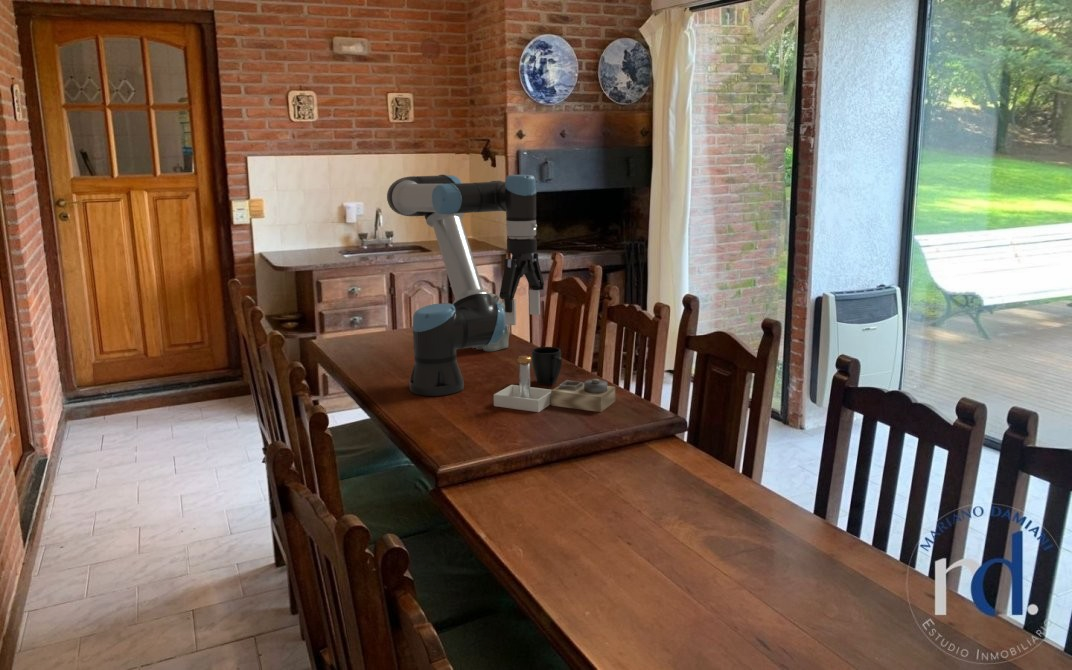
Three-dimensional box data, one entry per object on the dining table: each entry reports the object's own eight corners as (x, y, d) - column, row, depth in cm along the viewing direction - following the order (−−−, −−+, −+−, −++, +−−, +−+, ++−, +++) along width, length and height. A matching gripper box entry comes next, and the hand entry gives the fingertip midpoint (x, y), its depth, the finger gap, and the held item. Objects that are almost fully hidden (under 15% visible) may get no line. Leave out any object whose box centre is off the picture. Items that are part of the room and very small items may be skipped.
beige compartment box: (551, 405, 225) (550, 380, 223) (567, 395, 233) (566, 370, 232) (600, 412, 219) (601, 386, 217) (615, 401, 227) (615, 376, 226)
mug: (546, 391, 237) (545, 357, 235) (527, 380, 248) (527, 348, 246) (572, 387, 241) (572, 354, 239) (553, 377, 251) (552, 345, 249)
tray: (493, 405, 225) (493, 394, 224) (511, 395, 234) (511, 384, 233) (538, 412, 219) (538, 400, 218) (555, 401, 228) (555, 390, 227)
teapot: (461, 342, 295) (459, 288, 291) (505, 340, 298) (504, 286, 293) (465, 354, 279) (463, 297, 275) (511, 351, 282) (510, 295, 278)
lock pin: (515, 402, 225) (515, 358, 223) (522, 398, 229) (521, 355, 226) (528, 404, 224) (527, 359, 221) (534, 400, 227) (533, 356, 224)
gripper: (511, 243, 204) (513, 330, 209) (556, 232, 226) (556, 311, 231) (484, 242, 207) (486, 327, 212) (530, 231, 229) (531, 309, 234)
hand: (523, 319), depth 221 cm, fingers open, 13 cm apart
